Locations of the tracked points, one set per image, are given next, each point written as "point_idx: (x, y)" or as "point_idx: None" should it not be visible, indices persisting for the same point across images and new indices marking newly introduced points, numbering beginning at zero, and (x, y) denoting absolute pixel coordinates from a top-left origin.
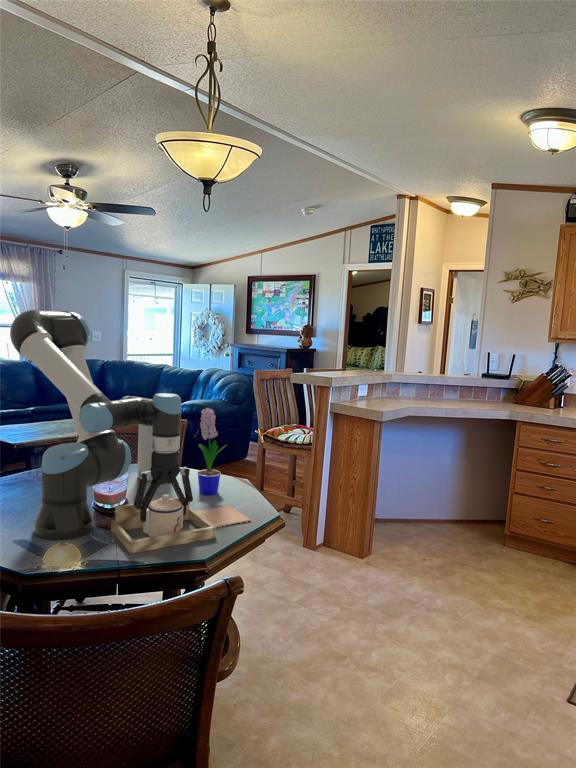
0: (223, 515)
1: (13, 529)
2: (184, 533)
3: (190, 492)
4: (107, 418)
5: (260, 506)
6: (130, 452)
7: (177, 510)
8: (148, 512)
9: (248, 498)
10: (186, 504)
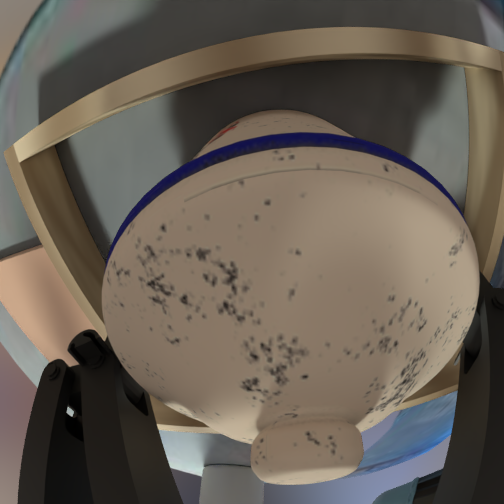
0: (45, 322)
1: None
2: (165, 60)
3: (34, 428)
4: None
5: (3, 339)
6: None
7: (156, 185)
8: None
9: (39, 379)
10: (84, 338)
